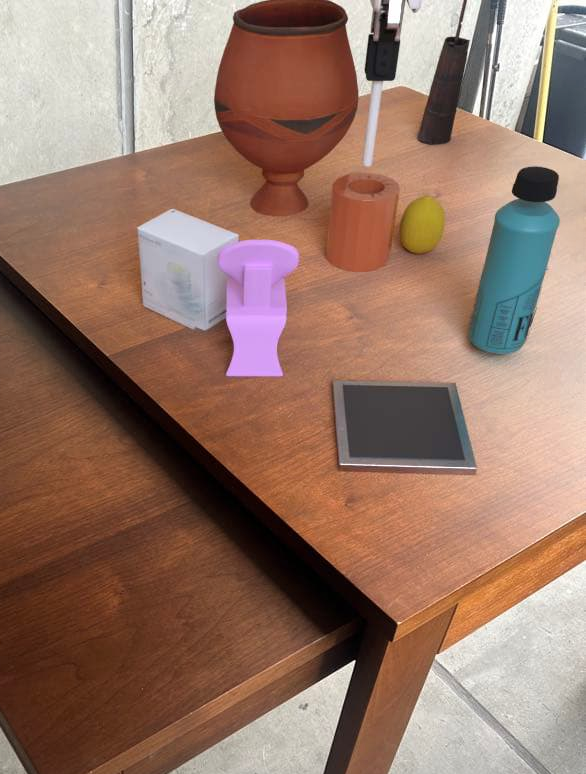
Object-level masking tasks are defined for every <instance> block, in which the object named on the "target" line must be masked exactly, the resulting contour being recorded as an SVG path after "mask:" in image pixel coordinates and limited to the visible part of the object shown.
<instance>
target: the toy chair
mask: <svg viewBox="0 0 586 774" xmlns="http://www.w3.org/2000/svg"><path fill="white" fill-rule="evenodd" d="M299 262H300V253H299V251H298V249H297V248H296V247H294V246H293V245H291V244H288V243H286V242H282V241H280V240H273V239H246V240H239V242H236V243H233V244H230V245H228V246H226V247H224V248H223V249H221V250H220V252H219V253H218V265H219V268H220V269H221V271H222V272H224V273H225V274H227V275H229V276H230V277H231V278H233V279H227V307H226V318H225V320H226V325H227V328H228V331H229V332H230V334H231V339H232V342H233V352H232V357H231V360H230V363H229V365H228V368H227V370H226V371H225V372H226V373H225V376H226V377H284V373H283V372H284V371H283V370H282V367H281V364H280V361H279V357H278V343H279V340H280V337H281V336H282V332H283V330H284V329H285V326H286V324H287V311H288V305H287V304H288V303H287V294H286V279H285V277H287V276H288V275H290V274H292V273H293V272H294V271H295V270H296V269H297V267H298V266H299Z"/></svg>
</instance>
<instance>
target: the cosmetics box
mask: <svg viewBox="0 0 586 774" xmlns="http://www.w3.org/2000/svg"><path fill="white" fill-rule="evenodd" d="M136 229H137V241H138V243H137V244H138V253H139V269H140V281H141V296H142V307H145V308H146V309H148V310H151V311H153V312H155V313H157V314H159V315H161V316H163V317H165V318H167V319H169V320H172V321H174V322H176V323H178V324H180V325H181V326H184V327H185V328H188V329H190V330H192V331H195V330H196V328H197V329H199V330H202V331H207V330H209V329H210V328H212V327H214V326H215V325H217V324H218V323H220V322H222V321H224V320H226V307H227V279H233V278H231V277H230V276H229V275H227V274H225V273H224V272H222V271H221V269H220V268H219V265H218V253H219V252H220V250H221V249H223V248H224V247H226V246H228V245H230V244H233V243H236V242H240V235H239V234H238V233H235V232H233V231H232V230H228V229H226V228H223V227H220V226H217V225H215V224H213V223H211V222H208V221H205V220H203V219H200V218H198V217H195V216H193V215H190V214H188V213H185V212H183V211H180V210H178V209H176V208H170V209H168V210H167V211H164V212H163V213H161V214H159V215H157V216H155V217H153V218H152V219H150V220H148V221H146V222H144V223H143V224H141V225H139V226H137V228H136Z"/></svg>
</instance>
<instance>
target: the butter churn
mask: <svg viewBox="0 0 586 774" xmlns="http://www.w3.org/2000/svg"><path fill="white" fill-rule="evenodd" d="M467 3H468V0H463V2H462V5H461V9H460V14H459V19H458V23H457V29H456V32H455V36H447V37H445V38H444V41H443V45H442V48H441V51H440V54H439V57H438V61H437V64H436V68H435V72H434V74H433V78H432V81H431V85H430V89H429V93H428V97H427V101H426V105H425V107H424V111H423V115H422V118H421V122H420V125H419V131H418V133H417V139H418V140H419V141H420V142H422V143H425V144H428V145H434V144H447V143H449V142H450V141H451V139H452V133H453V128H454V124H455V118H456V114H457V109H458V105H459V99H460V96H461V90H462V85H463V80H464V74H465V70H466V66H467V65H466V64H467V60H468V54H469V53H468V51H469V47H470V42H471V40H470V39H467V38H463V37H460V35H461V30H462V27H463V24H462V23H463V22H464V21H463V20H464V17H465V11H466V7H467Z"/></svg>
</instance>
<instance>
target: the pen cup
mask: <svg viewBox="0 0 586 774" xmlns="http://www.w3.org/2000/svg"><path fill="white" fill-rule="evenodd" d="M400 192H401V189H400V184H399V182H397V181H396V180H394V179H393V178H390V177H388V176H386V175H383V174H379V173H372V172H354V173H347V174H345V175H342V176H340V177H338V178H337V179H336V180H334V182H333V183H332V190H331V198H330V199H331V200H330V207H329V210H330V211H329V218H328V219H329V220H328V229H327V238H326V248H325V257H326V260H327V261H328V263H329V264H330V265H332V266H333V267H335V268H337V269H340V270H342V271H347V272H354V273H367V272H372V271H373V272H374V271H377V270H379V269H381V268H383V267H385V266H386V265H387V264H388V262H389V260H390V255H391V249H392V244H393V243H392V242H393V238H394V237H393V236H394V229H395V224H396V218H397V210H398V204H399V198H400Z"/></svg>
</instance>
